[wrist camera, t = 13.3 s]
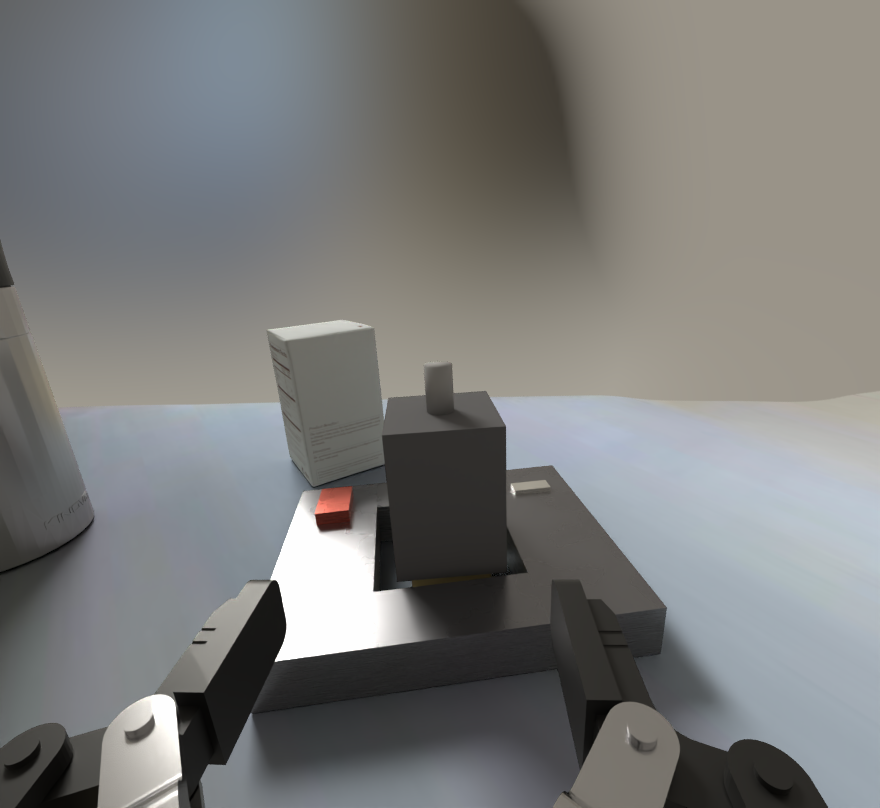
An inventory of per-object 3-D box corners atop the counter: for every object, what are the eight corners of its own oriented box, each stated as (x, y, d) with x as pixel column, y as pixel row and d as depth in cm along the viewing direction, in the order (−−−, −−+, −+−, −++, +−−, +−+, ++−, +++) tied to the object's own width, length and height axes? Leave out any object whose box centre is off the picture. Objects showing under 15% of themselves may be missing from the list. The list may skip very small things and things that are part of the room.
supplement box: (359, 439, 46) (345, 318, 42) (390, 465, 40) (376, 325, 36) (288, 459, 42) (264, 328, 38) (309, 489, 36) (284, 338, 32)
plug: (400, 616, 23) (376, 383, 19) (403, 548, 28) (384, 356, 24) (507, 606, 23) (505, 374, 19) (489, 541, 28) (485, 349, 24)
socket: (251, 713, 18) (235, 650, 17) (308, 523, 31) (301, 480, 30) (660, 653, 20) (668, 592, 19) (551, 496, 33) (552, 455, 32)
